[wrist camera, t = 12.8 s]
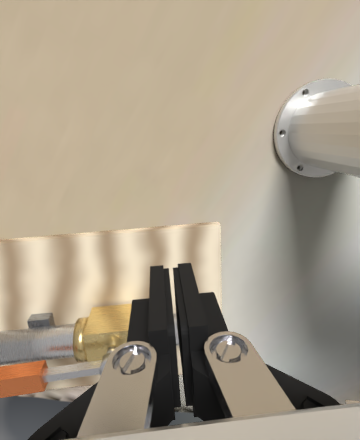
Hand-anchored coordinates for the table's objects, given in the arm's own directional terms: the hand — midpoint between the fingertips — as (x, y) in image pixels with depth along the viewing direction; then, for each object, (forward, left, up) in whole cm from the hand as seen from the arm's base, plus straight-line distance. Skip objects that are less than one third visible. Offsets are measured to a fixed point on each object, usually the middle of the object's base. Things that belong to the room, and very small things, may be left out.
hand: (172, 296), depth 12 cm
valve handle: (+14, +21, -20) cm, 32 cm away
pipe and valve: (+9, +21, -28) cm, 36 cm away
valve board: (+9, +20, -29) cm, 36 cm away
